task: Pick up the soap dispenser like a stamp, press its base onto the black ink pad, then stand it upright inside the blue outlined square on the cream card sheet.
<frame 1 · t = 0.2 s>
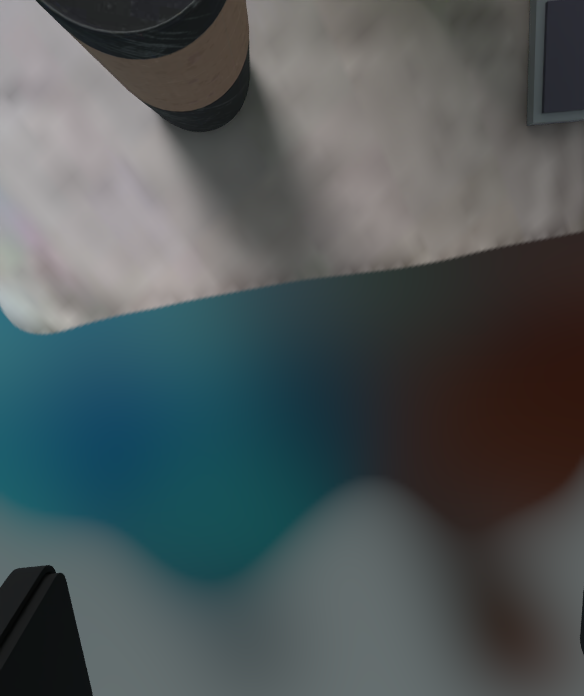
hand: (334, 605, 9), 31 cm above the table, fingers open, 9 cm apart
travel mug: (197, 77, 35), on the table
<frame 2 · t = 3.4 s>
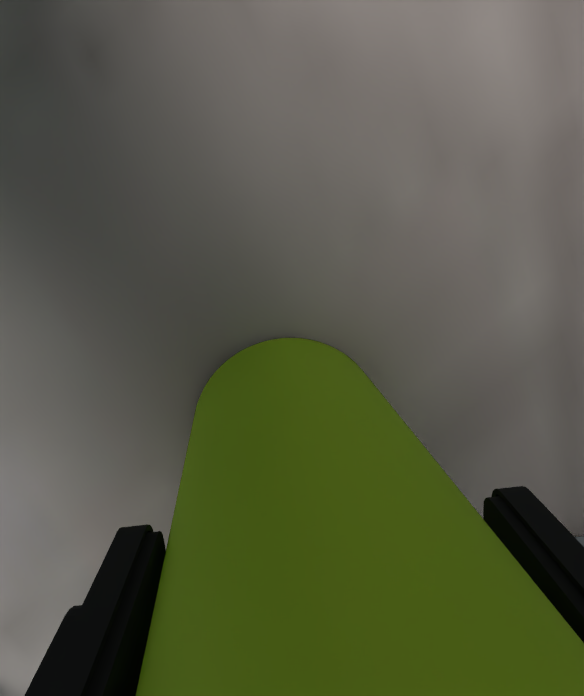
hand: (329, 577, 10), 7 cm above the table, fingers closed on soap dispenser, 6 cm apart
soap dispenser: (303, 429, 16), on the table, touching gripper
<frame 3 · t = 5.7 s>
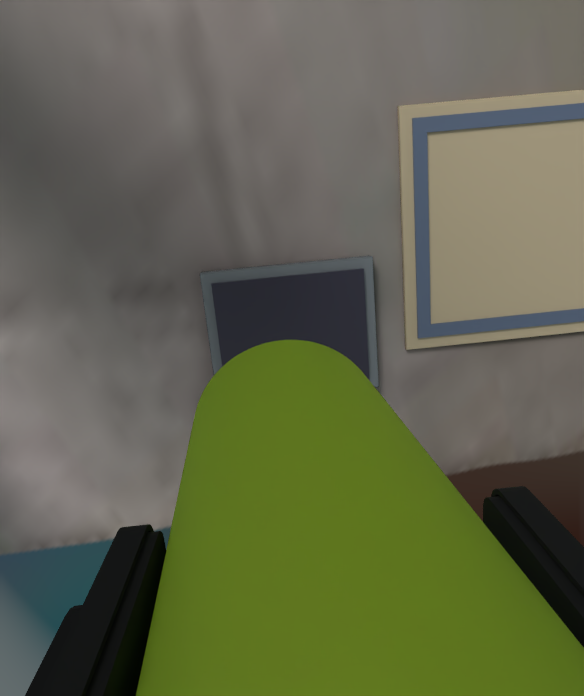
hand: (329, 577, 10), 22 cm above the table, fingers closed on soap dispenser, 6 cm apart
ink pad: (291, 329, 31), on the table
card sheet: (517, 224, 30), on the table
soap dispenser: (303, 431, 16), point 15 cm above the table, touching gripper
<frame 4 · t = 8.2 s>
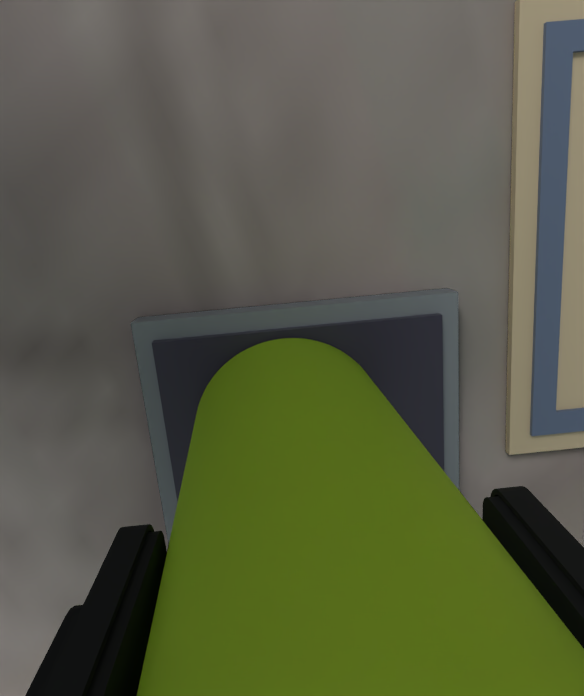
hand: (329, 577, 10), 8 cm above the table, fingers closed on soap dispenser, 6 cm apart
ink pad: (304, 418, 17), on the table
soap dispenser: (305, 429, 16), point 1 cm above the table, touching gripper, ink pad
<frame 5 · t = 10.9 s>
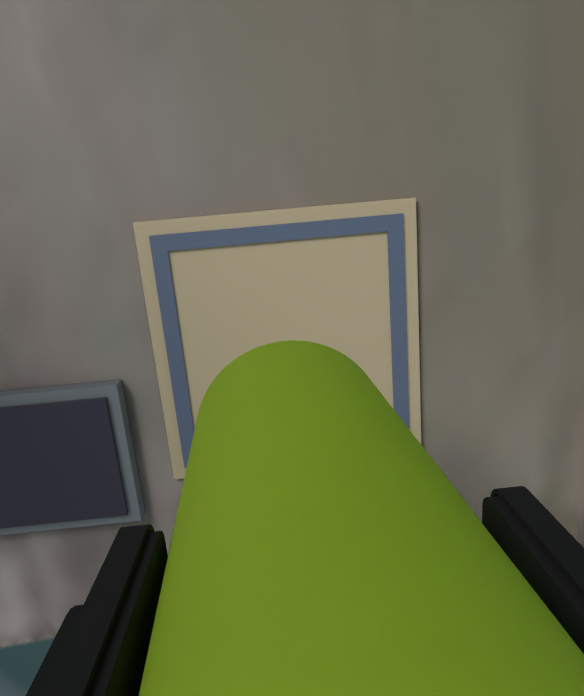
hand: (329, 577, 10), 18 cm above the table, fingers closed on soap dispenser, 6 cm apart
ink pad: (42, 457, 28), on the table
card sheet: (287, 345, 27), on the table
soap dispenser: (306, 432, 16), point 11 cm above the table, touching gripper
when the fingers open (8 cm above the table, at t = 13.1 s): soap dispenser stays where it is, resting on card sheet.
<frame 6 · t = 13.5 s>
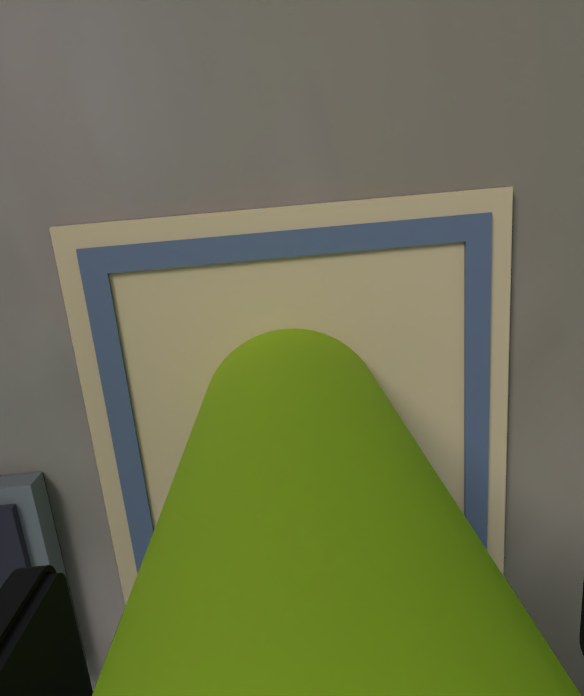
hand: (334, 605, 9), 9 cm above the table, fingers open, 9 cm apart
card sheet: (301, 418, 17), on the table
soap dispenser: (306, 416, 17), resting on card sheet
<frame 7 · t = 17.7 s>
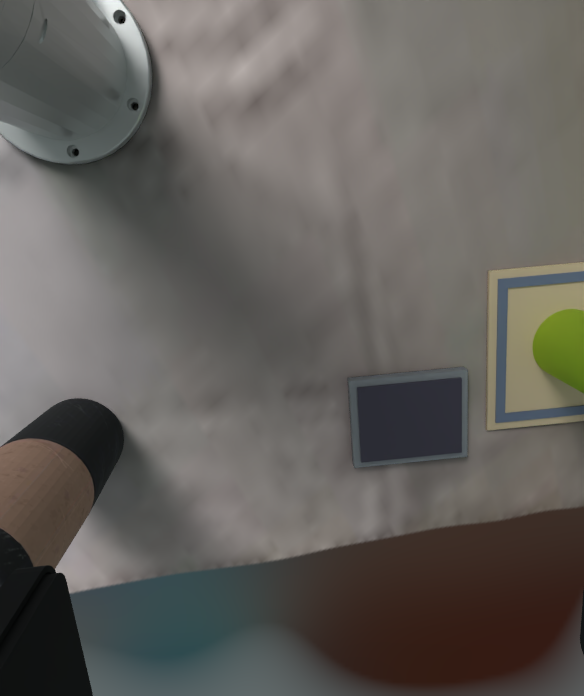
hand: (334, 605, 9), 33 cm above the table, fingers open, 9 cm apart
ink pad: (407, 415, 44), on the table
card sheet: (567, 345, 43), on the table
soap dispenser: (570, 344, 43), resting on card sheet
travel mug: (82, 435, 43), on the table
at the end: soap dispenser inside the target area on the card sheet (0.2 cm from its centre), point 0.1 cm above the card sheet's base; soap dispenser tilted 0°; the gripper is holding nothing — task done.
